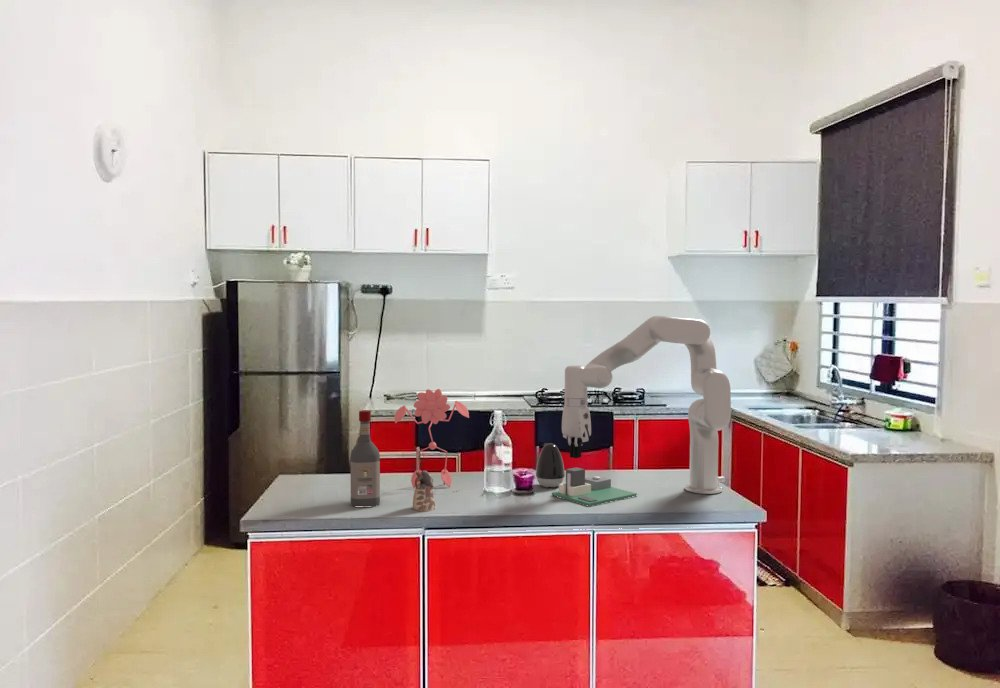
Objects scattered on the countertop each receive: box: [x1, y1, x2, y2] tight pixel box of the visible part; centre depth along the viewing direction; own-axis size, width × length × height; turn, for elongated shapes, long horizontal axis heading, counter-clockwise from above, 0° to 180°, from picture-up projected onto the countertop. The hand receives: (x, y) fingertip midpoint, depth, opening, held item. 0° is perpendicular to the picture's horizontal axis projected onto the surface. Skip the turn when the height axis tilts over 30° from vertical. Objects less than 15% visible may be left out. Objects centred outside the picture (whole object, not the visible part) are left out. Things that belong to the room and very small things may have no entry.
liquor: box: [349, 409, 381, 507], centre depth 257 cm, size 9×9×30 cm
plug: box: [565, 467, 586, 494], centre depth 269 cm, size 6×4×8 cm
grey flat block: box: [585, 475, 612, 490], centre depth 278 cm, size 7×7×3 cm
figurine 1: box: [393, 388, 470, 493], centre depth 277 cm, size 15×26×35 cm, turn 96°
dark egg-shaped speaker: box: [535, 442, 566, 488], centre depth 284 cm, size 10×10×15 cm
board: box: [551, 486, 638, 507], centre depth 269 cm, size 22×18×3 cm
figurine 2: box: [412, 470, 436, 512], centre depth 253 cm, size 7×7×12 cm
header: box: [558, 482, 591, 497], centre depth 269 cm, size 8×7×3 cm
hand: (575, 457), depth 269 cm, fingers closed
